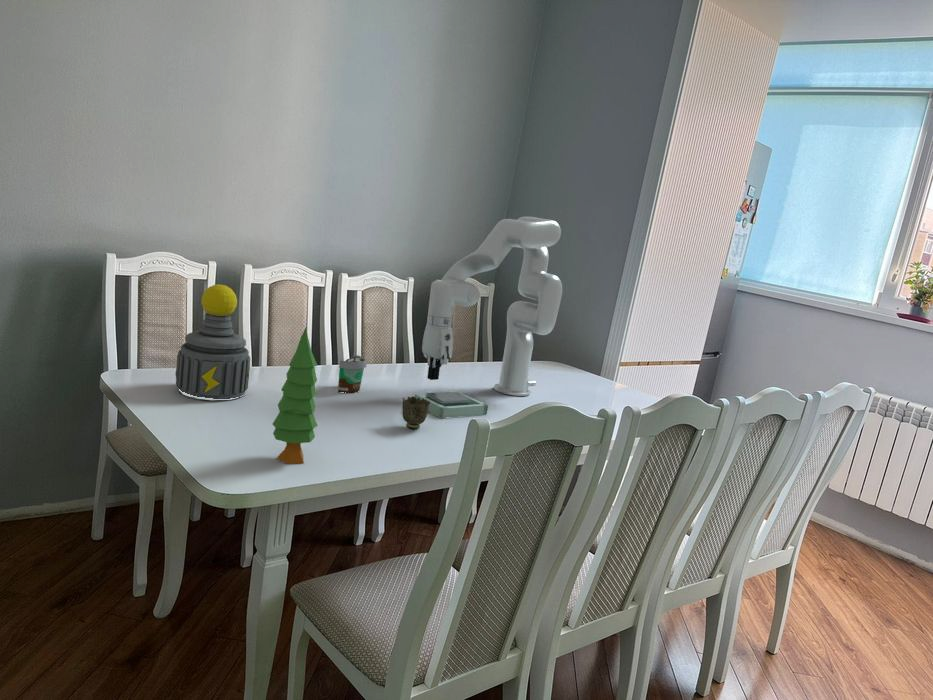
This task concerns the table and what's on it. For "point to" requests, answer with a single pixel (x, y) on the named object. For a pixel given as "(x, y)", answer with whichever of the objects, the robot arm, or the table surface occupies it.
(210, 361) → the decorative lamp
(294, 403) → the decorative tree
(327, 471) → the table surface
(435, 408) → the bay
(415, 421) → the cup
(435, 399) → the gray rectangular block
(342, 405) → the table surface
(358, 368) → the food container
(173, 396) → the table surface
